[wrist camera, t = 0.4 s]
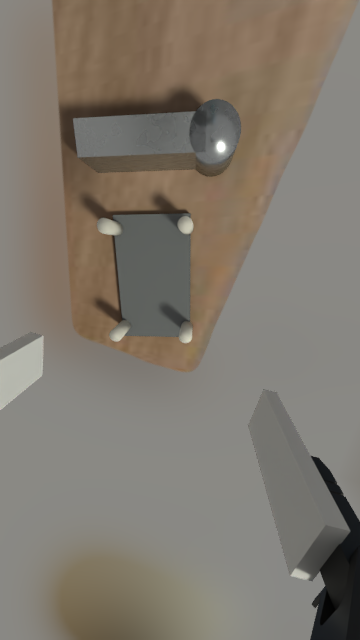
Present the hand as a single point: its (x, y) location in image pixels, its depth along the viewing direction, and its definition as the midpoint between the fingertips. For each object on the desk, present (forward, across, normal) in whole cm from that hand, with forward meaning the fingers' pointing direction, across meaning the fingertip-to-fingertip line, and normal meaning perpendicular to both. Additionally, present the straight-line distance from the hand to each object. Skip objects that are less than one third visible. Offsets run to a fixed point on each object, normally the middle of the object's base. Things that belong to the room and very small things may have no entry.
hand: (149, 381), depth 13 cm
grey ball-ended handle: (+27, -7, +19) cm, 34 cm away
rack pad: (+27, -5, +1) cm, 27 cm away
